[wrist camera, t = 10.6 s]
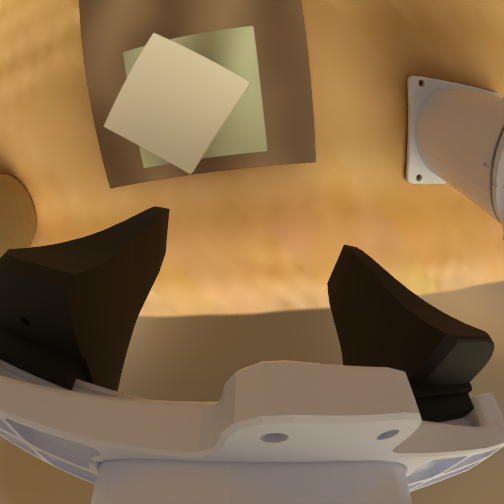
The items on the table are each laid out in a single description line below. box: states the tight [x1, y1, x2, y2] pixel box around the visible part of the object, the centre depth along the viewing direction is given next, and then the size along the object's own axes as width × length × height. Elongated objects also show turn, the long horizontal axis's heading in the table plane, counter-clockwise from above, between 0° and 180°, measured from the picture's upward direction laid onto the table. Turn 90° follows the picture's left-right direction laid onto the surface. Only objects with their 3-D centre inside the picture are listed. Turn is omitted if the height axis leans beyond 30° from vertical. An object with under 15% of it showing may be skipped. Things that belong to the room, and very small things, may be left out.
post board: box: [79, 0, 316, 188], centre depth 12 cm, size 14×22×5 cm, turn 6°
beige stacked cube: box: [104, 33, 252, 174], centre depth 14 cm, size 5×5×5 cm
